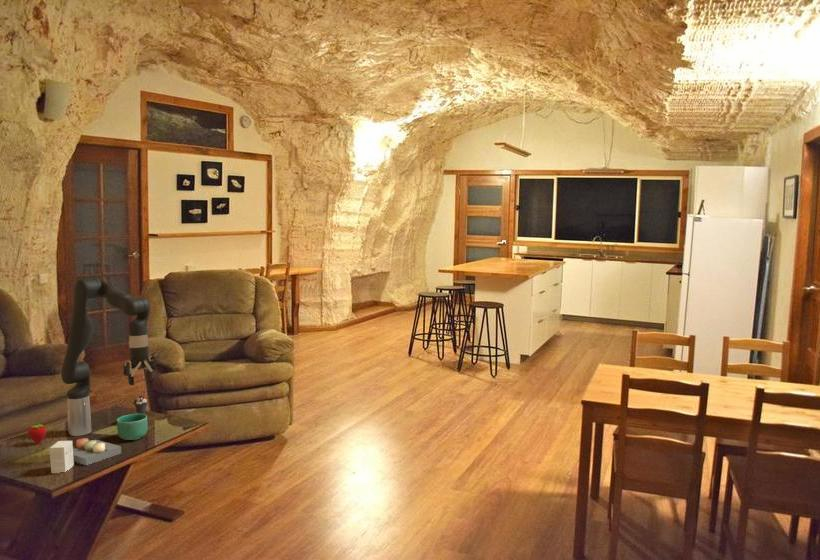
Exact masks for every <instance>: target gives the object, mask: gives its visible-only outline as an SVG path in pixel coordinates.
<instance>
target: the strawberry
mask: <svg viewBox="0 0 820 560" xmlns="http://www.w3.org/2000/svg"><path fill="white" fill-rule="evenodd" d="M30 427H31V428H29V429H28V430H27V431H28V432H27V434H28V436H29V438H30V440H32V441H33V442H34V443H35V444H36V445H37V444H38V445H39V444H41V443H42V441H43V440H44V439H45V437H46V436H47V432H48V430H47V428H46V427H45V425H43V424H42V423H39V424H37V425H32V426H30Z"/></svg>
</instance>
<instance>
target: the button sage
mask: <svg viewBox="0 0 820 560" xmlns="http://www.w3.org/2000/svg"><path fill="white" fill-rule="evenodd" d="M95 440H96V439H92V440H88V441H87V442H85V443H84V446H85V451H88V452H90V451H92V450H93V444H95V443H97V441H95Z"/></svg>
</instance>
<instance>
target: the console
mask: <svg viewBox="0 0 820 560" xmlns="http://www.w3.org/2000/svg"><path fill="white" fill-rule="evenodd" d="M94 440H95V441H97V443H105V452H102V453H99V454H95V453H93V450H92V451H90V452H88V451H85V448H83V449H78V448H77V445H75V446H73V459H74V463H75V462H76V463H75V464H79V463H80V464H79V465H82V464H83V465H82V466H85V465H87V466H90V465H92V463H93V464H95V463H98V462H100V461H104V460H106V458H107V459H109V458H112V457H115V456H117V455H118V456H119V455H120V454H122V446H120V445H117V444H113V443H110V442H106V441H103V440H98V439H94ZM103 459H104V460H103ZM94 462H95V463H94ZM89 464H90V465H89Z"/></svg>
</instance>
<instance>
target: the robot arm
mask: <svg viewBox="0 0 820 560" xmlns="http://www.w3.org/2000/svg"><path fill="white" fill-rule="evenodd" d="M97 298H103V299H105V300H106V302H107V303H108V304H109V305H110V306H113V307H114V308H117V309H119V310H120V311H121V312H123V314H125V315H126V316H128V317H130V316H131V317H132V316H136V317H135V319H134V320H132V321H130V322H129V323H128V349H129V351H128V352H129V357H130V360H128V361H123V376H125V377H128V384H129V385H130V386H134V385H135V374H136V373H137V372H138V370H141V369H144V370H145V371H146V381H148V382H149V381H150V382H151V381H152V379H153V371H154V370H156V369H157V365H156V364H157V363H156V356H155V355H150V353H149V337H148V327H147V325H148V322H149V321H148V320H149V317H150V310H151V304H150V302H149V299H147V298H146V297H136V298H133V297H132V296H131V295H130V294H128V293H126V292H123V291H120V290H118V289H116V288H115V287H113V286H111V285H110V284H108V283H107V282H105V281H104V280H103V279H101V278H99V277H86V278H78V280H77V281H76V282H75V284H74V290H73V306H72V309H73V310H72V315H71V321H70V327H69V333H68V341H67V347H66V351H65V355H64V359H63V363H62V367H61V371H60V372H61V380H62V382H63V383H64V384H65V385H71V384H75V385H74V386H73V387H71V388H70V389H69V390H68V391H67V393H66V399H67V400H66V401H67V416H66V417H67V418H66V419H67V430H68V434H69V436H73V437H77V436H79V437H80V436H84V435H88V434H90V433H92V418H91V417H92V416H91V415H92V414H91V402H90V391H91V369H90V366H89V364H88V363H87V362H86V361H83V360H81V361H78V360H79V358H80V356H81V354H82V353H83V352H84V350H85V349H86V348H87V347H88V345H89V344H90V342H91V339H92V336H93V331H94V324H93V321H92V319H91V317H90V316H89V313H88V312H87V301H88V300H90V299H97Z"/></svg>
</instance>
